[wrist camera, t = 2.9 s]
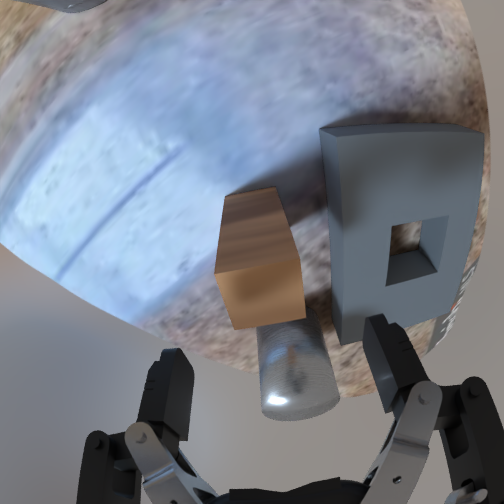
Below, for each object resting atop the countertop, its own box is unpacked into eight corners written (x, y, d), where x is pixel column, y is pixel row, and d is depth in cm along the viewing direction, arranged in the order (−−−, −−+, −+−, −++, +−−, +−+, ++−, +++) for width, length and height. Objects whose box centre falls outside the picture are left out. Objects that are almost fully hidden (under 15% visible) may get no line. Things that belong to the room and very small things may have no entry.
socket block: (318, 128, 18) (336, 137, 15) (455, 124, 17) (484, 133, 14) (331, 318, 29) (340, 345, 26) (434, 290, 28) (449, 312, 24)
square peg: (224, 196, 21) (214, 274, 13) (275, 186, 21) (299, 258, 12) (236, 239, 23) (234, 329, 15) (282, 230, 23) (306, 317, 14)
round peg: (250, 310, 28) (255, 396, 19) (317, 298, 27) (342, 380, 19) (262, 350, 31) (268, 424, 23) (319, 339, 31) (337, 412, 22)
